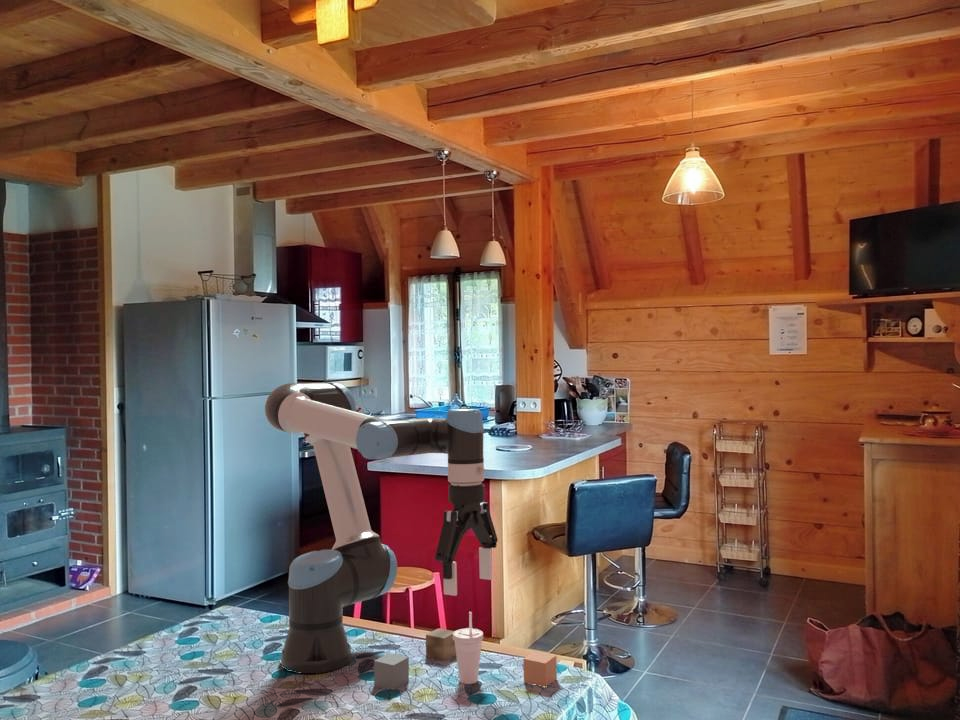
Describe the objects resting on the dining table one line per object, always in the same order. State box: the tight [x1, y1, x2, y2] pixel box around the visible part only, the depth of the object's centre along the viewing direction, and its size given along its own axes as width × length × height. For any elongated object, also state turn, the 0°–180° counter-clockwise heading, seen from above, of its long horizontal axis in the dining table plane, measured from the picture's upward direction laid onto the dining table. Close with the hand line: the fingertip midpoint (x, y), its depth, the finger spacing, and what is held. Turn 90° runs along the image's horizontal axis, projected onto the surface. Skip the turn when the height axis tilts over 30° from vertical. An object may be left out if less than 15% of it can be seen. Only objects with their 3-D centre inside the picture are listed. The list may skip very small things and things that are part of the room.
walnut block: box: [425, 627, 456, 661], centre depth 169 cm, size 5×5×5 cm
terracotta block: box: [523, 650, 558, 687], centre depth 154 cm, size 5×5×5 cm
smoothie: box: [453, 611, 484, 685], centre depth 155 cm, size 6×6×14 cm
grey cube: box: [373, 652, 410, 691], centre depth 154 cm, size 5×5×5 cm
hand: (468, 586), depth 155 cm, fingers open, 13 cm apart
